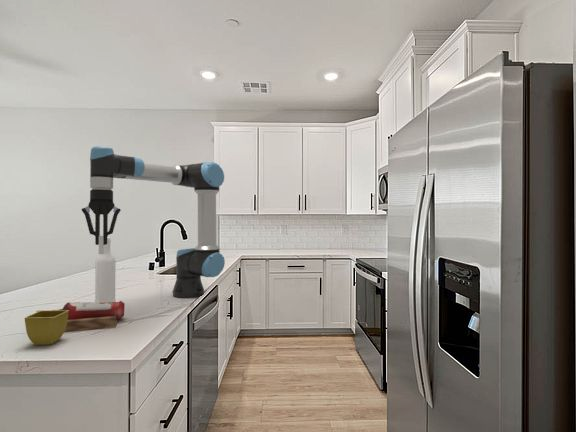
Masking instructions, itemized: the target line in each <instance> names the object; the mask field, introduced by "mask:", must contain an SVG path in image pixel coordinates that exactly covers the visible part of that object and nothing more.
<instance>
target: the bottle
mask: <svg viewBox="0 0 576 432" xmlns="http://www.w3.org/2000/svg"><path fill="white" fill-rule="evenodd" d="M111 241H112V240H111V236H107V245H104V254H98V255H97V257H96V259H95V276H94V277H95V279H94V280H95V281H94V282H95V285H94V287H95V289H94V290H95V291H94V295H95V297H94V298H95V299H94V302H117V301H116V265H117V264H116V258H115V256H114V255H113V254H112V253H111Z"/></svg>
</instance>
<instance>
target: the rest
mask: <svg viewBox="0 0 576 432" xmlns="http://www.w3.org/2000/svg"><path fill="white" fill-rule="evenodd" d="M118 320H119V319H118V318H116V316H108V317H96V318H84V319H72V320H67V326H66V329H65V331H64V333H70V332H79V331H80V332H81V331H91V330H101V329H102V330H103V329H111V328H112V329H113V328H117V323H118Z"/></svg>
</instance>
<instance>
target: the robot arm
mask: <svg viewBox="0 0 576 432" xmlns="http://www.w3.org/2000/svg"><path fill="white" fill-rule="evenodd" d="M89 161H90V167H89V168H90V169H89V171H90V173H89V174H90V177H89V180H90V181H89V184H90V185H89V188H90V191H89V203H88V205H87V206H85V207H82V208H81V211H82V213H83V214H84V217H85V221H86V224H87V227H88V231H89V235H93V236H95V237H94V238H95V242H94V244H95V245H97V246H98V255H100V254H104V245H107V237H109V235H111V234H113V233H114V229H115V225H116V223H117V219H118V216H119V214H120V212H121V211H122V209H121V208H118V207H117V206H115V203H114V191H113V189H114V179H124V180H125V179H126V180H135V181H137V180H139V181H149V182H159V183H171V184H172V185H173V186H181V187H186V188H193V189H194V192H195V193H196V196H197V245H196V247H193V248H183V249H178V250H177V251H176V258H175V259H176V261H175V263H176V264H175V265H176V281H175V284H174V286H173V289H172V296H173V297H175V298H179V299H180V298H183V299H187V298H188V299H190V298H197V297H202V296H204V295H205V288H204V285H203V282H202V279H201V277H205V278H216V277H217V276H219V275H220V274H221V273H222V272H223V270H224V268H225V265H226V263H225V262H226V261H225V257H224V255H223V254H221V253H220V250H221V249H220V247H219V246H218V245H217V194H218V193H219V192H220V187H221V186H222V185H223V183H224V182H225V172H224V171H223V168H222V167H221V166H220V164H218V163H216V162H213V161H206V162H205V161H204V162H200V163H191V164H183V165H182V164H181V165H178V164H174V165H173V166H170V165H169V166H168V165H161V164H160V165H159V164H154V163H153V164H152V163H145V161H144V160H143V159H142V158H141V157H140V158H139V157H135V156H127V155H119V154H116V153H114V149H113V148H112V147H109V146H98V145H97V146H92V147H91V150H90V157H89ZM112 210H113V215H112V219H111V222H110V226H109V230H108V224H109V223H108V222H109V221H108V220H109V219H108V218H109V216H108V215H109V214H110V213H111V212H112ZM91 211H92V213H93V214H95V215H94V217H95V223H94V224H95V226H93V223H92V219H91V218H92V217H91V215H90V212H91ZM101 215H102V217H103V218H102V219H103V220H102V224H103V225H102V226H103V227H102V228H103V229H102V231H103V232H102V235H101ZM94 229H95V230H94Z"/></svg>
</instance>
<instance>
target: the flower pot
mask: <svg viewBox="0 0 576 432" xmlns="http://www.w3.org/2000/svg"><path fill="white" fill-rule="evenodd" d="M38 311H39V312H34V313H32V314H29V315H27V316H26V317H24V325H25V330H26V335H27V337H28V340H30V342H31V343H32V344H33V345H34V346H41V345H42V346H43V345H44V346H45V345H53V344H55V342H57V341H60V339H61V338H62V337H63V335H64V333H65V332H64V331H65V329H66V326H67V320H68V313H69V310H58V309H51V310H48V309H47V310H43V311H42V310H38Z"/></svg>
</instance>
